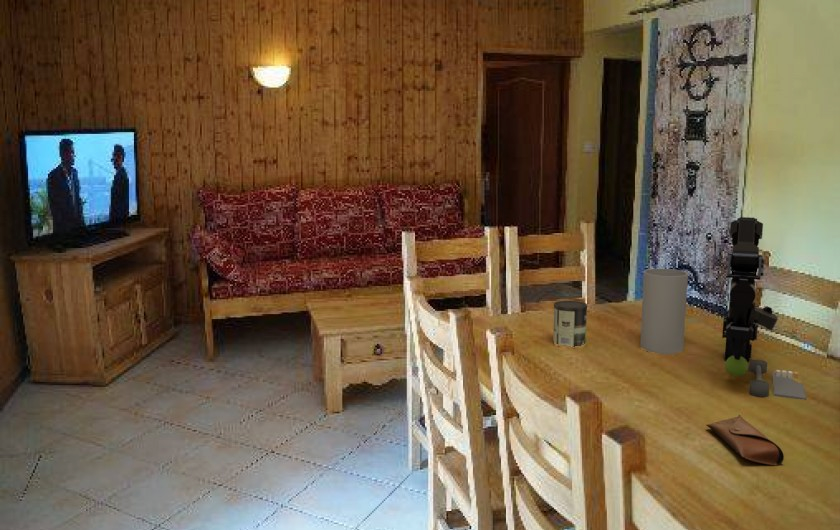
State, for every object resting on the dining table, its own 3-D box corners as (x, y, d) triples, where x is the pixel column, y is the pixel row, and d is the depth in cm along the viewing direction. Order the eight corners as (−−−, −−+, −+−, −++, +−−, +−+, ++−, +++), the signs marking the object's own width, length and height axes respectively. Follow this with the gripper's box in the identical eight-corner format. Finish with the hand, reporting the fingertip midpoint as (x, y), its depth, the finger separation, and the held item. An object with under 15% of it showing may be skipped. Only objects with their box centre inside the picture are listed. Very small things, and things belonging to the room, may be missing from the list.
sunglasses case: (702, 422, 157) (723, 400, 156) (724, 441, 158) (744, 419, 157) (743, 458, 139) (766, 434, 138) (767, 479, 140) (790, 455, 139)
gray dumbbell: (748, 399, 175) (750, 384, 175) (748, 372, 195) (749, 358, 195) (768, 402, 173) (769, 386, 173) (766, 374, 193) (767, 360, 193)
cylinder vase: (676, 346, 220) (681, 268, 215) (687, 359, 207) (693, 276, 203) (636, 346, 221) (640, 268, 216) (644, 358, 209) (649, 276, 204)
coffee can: (582, 342, 225) (583, 300, 222) (589, 352, 215) (590, 307, 212) (550, 342, 225) (551, 300, 223) (555, 352, 215) (556, 307, 212)
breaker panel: (773, 399, 175) (774, 388, 174) (771, 377, 191) (772, 367, 190) (805, 403, 172) (806, 392, 171) (800, 380, 188) (801, 370, 188)
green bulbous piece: (745, 370, 186) (749, 328, 183) (748, 380, 180) (752, 337, 177) (723, 368, 188) (726, 326, 184) (725, 378, 182) (728, 335, 178)
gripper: (778, 309, 167) (773, 371, 170) (775, 293, 184) (770, 350, 187) (727, 304, 172) (723, 365, 175) (729, 289, 189) (725, 345, 192)
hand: (737, 356), depth 182 cm, fingers closed on green bulbous piece, 5 cm apart
